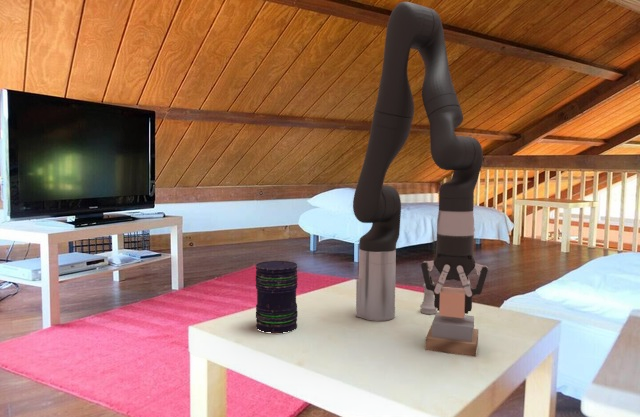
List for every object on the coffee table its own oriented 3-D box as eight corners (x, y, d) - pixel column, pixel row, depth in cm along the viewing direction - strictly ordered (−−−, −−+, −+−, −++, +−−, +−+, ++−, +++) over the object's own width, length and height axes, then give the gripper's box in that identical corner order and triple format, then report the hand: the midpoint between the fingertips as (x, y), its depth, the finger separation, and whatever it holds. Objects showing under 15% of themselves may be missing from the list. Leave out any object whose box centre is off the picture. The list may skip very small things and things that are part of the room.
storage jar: (283, 336, 108) (283, 270, 106) (247, 329, 112) (246, 266, 111) (305, 324, 116) (305, 263, 115) (270, 318, 121) (270, 259, 120)
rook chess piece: (437, 315, 124) (438, 284, 123) (419, 314, 125) (420, 283, 124) (436, 310, 128) (437, 280, 127) (419, 309, 129) (420, 279, 128)
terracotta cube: (439, 315, 101) (439, 292, 101) (442, 309, 106) (442, 286, 105) (464, 318, 99) (464, 294, 99) (465, 311, 104) (466, 288, 103)
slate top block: (431, 336, 101) (432, 322, 100) (436, 325, 108) (436, 312, 108) (472, 341, 98) (472, 327, 98) (473, 329, 105) (474, 316, 105)
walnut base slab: (425, 352, 100) (425, 338, 100) (431, 336, 109) (432, 323, 109) (475, 359, 97) (476, 344, 96) (478, 342, 106) (478, 329, 106)
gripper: (417, 232, 100) (416, 312, 101) (491, 236, 95) (488, 320, 96) (423, 228, 107) (421, 303, 108) (491, 231, 102) (488, 310, 103)
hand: (452, 310), depth 102 cm, fingers closed on terracotta cube, 5 cm apart
